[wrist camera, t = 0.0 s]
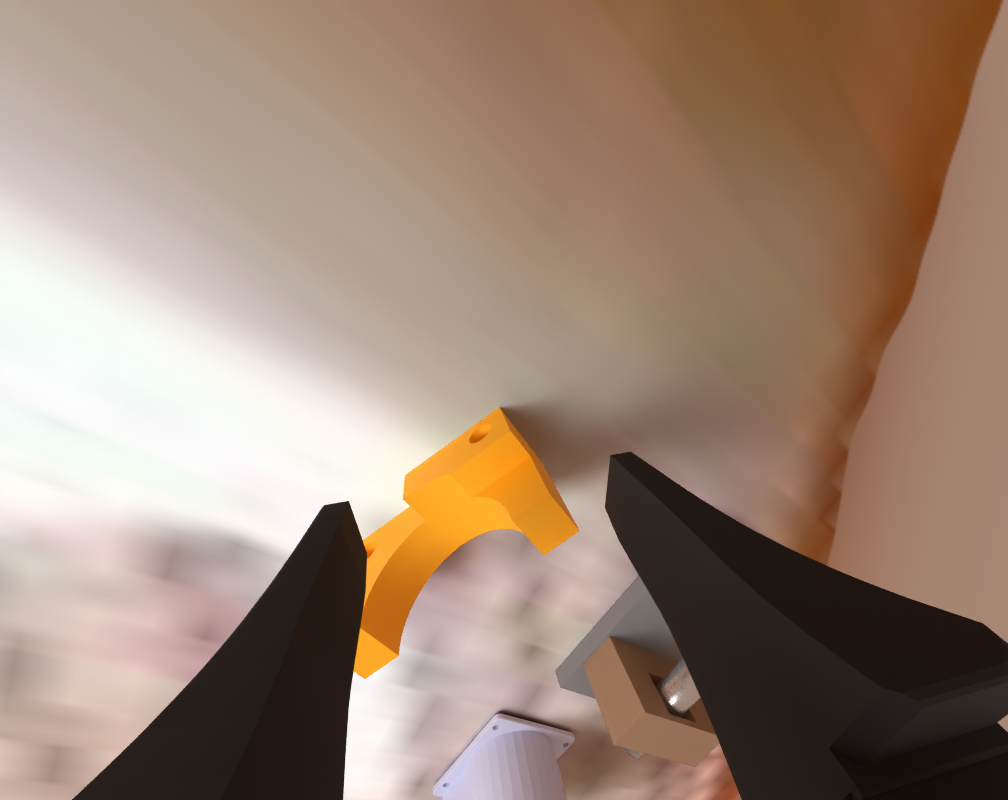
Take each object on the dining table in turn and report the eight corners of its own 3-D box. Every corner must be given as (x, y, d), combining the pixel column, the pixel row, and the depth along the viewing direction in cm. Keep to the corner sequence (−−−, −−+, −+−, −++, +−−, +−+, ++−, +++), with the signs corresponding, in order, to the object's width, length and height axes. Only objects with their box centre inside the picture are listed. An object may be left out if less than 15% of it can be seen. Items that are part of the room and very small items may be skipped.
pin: (629, 711, 29) (661, 784, 25) (599, 702, 28) (628, 776, 24) (728, 606, 27) (781, 668, 23) (701, 592, 26) (751, 654, 22)
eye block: (629, 695, 33) (672, 790, 27) (555, 671, 30) (585, 770, 24) (764, 553, 30) (845, 626, 24) (695, 511, 27) (767, 582, 21)
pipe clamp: (498, 406, 22) (526, 464, 16) (540, 459, 23) (579, 530, 18) (327, 530, 23) (292, 630, 17) (379, 573, 24) (365, 678, 18)
